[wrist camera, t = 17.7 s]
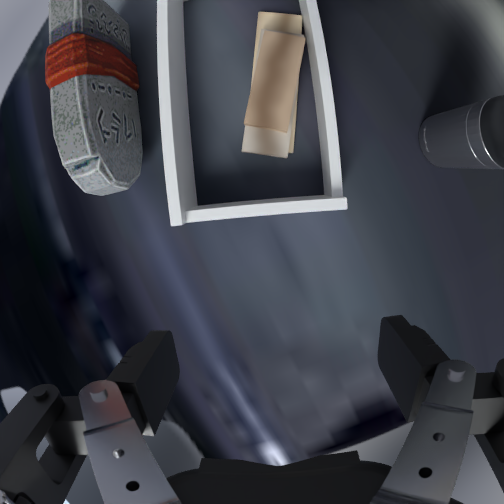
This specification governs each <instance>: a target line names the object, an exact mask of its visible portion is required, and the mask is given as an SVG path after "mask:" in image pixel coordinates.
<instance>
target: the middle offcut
mask: <svg viewBox="0 0 504 504" xmlns="http://www.w3.org/2000/svg"><path fill="white" fill-rule="evenodd" d="M264 30H266V31H273V32H278V33H284V34H289V35H294V36H299V37H304V35H302V34H296V33H289V32H283V31H275V30H267V29H261V33H260V39H259V45H258V51H257V57H256V63H255V69H256V65H257V60H258V56H259V51H260V47H261V43H262V38H263V34H264ZM255 69H254V73H255ZM299 72H300V71H299ZM253 78H254V75H253ZM298 79H299V76H298ZM252 83H253V81H252ZM297 87H298V81H297V86H296V91H295V96H294V101H293V107H292V112H291V117H290V122H289V127H288V131H287V133H283V132H279V131H274V130H269V129H263V128H258V127H252V126H247V125H245V132H244V138H243V145H242V152H246V153H254V154H261V155H268V156H274V157H281V158H287V157H288V150H289V144H290V137H291V130H292V123H293V116H294V108H295V101H296V94H297Z"/></svg>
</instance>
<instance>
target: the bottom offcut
mask: <svg viewBox="0 0 504 504" xmlns="http://www.w3.org/2000/svg"><path fill="white" fill-rule="evenodd" d="M261 29H267V30H275V31H283V32H289V33H296V34H301V32H302V16H301V15H292V14H283V13H271V12H259V14H258V23H257V33H256V43H255V53H254V63H253V73H252V81H253V75H254V69H255V63H256V57H257V51H258V45H259V39H260V33H261ZM298 82H299V79H298ZM251 87H252V84H251ZM297 96H298V87H297V94H296V101H295V108H294V116H293V123H292V130H291V137H290V144H289V150H288V153H293V148H294V136H295V123H296V110H297Z"/></svg>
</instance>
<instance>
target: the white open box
mask: <svg viewBox="0 0 504 504" xmlns="http://www.w3.org/2000/svg"><path fill="white" fill-rule="evenodd" d="M183 1H188V0H157V60H158V87H159V106H160V122H161V135H162V148H163V159H164V169H165V179H166V189H167V197H168V206H169V214H170V222H171V226H178V225H183V224H185V223H188V222H198V221H208V220H218V219H228V218H239V217H251V216H262V215H274V214H287V213H300V212H314V211H328V210H344V209H347V198H346V197H343V190H342V176H341V163H340V152H339V142H338V132H337V123H336V115H335V107H334V99H333V92H332V85H331V78H330V72H329V65H328V59H327V53H326V48H325V42H324V37H323V31H322V26H321V21H320V16H319V12H318V7H317V2H316V0H299V4H300V9H301V14H302V19H303V25H304V31H305V36H306V42H307V48H308V55H309V61H310V68H311V74H312V81H313V89H314V96H315V104H316V113H317V121H318V130H319V140H320V150H321V161H322V172H323V185H324V195H315V196H300V197H286V198H274V199H262V200H250V201H239V202H229V203H219V204H210V205H200V206H198V204H197V195H196V185H195V176H194V166H193V155H192V144H191V133H190V121H189V108H188V94H187V78H186V61H185V41H184V14H183Z"/></svg>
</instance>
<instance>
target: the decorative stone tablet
mask: <svg viewBox="0 0 504 504" xmlns="http://www.w3.org/2000/svg"><path fill="white" fill-rule="evenodd" d="M49 42H50V45H49V46H48V47H47V51H46V56H45V76H46V84H47V85H48V87H49V89H50V98H51V113H52V125H53V135H54V139H55V141H56V144H57V147H58V151H59V154H60V157H61V161H62V164H63V166H64V167H65V168H66V169H67V171H68V173H69V175H70V176H71V178H72V179H73V180H74V182H75V183H76V184H77V185H78V186H79V187H80V188H81V189H82V190H83V191H84V192H85V193H90V194H95V195H101V196H103V195H107V194H111V193H115V192H119V191H123V190H127V189H129V188H130V186H131V185H132V184H133V183H134V182H135V181H136V180H137V178H138V177H139V175H140V170H141V162H142V154H143V150H142V136H141V123H140V116H139V108H138V100H137V90H138V88H139V80H138V74H137V67H136V64H134V63H133V62H132V58H131V47H130V33H129V24H128V23H127V22H126V21H125V20H124V19H123V18H122V17H121V16H120V15H119V14H118V13H116V12H115V11H114V10H113V9H112V8H111V7H110V6H109V5H108V4H107V3H106V2H104V1H103V0H50V1H49Z"/></svg>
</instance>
